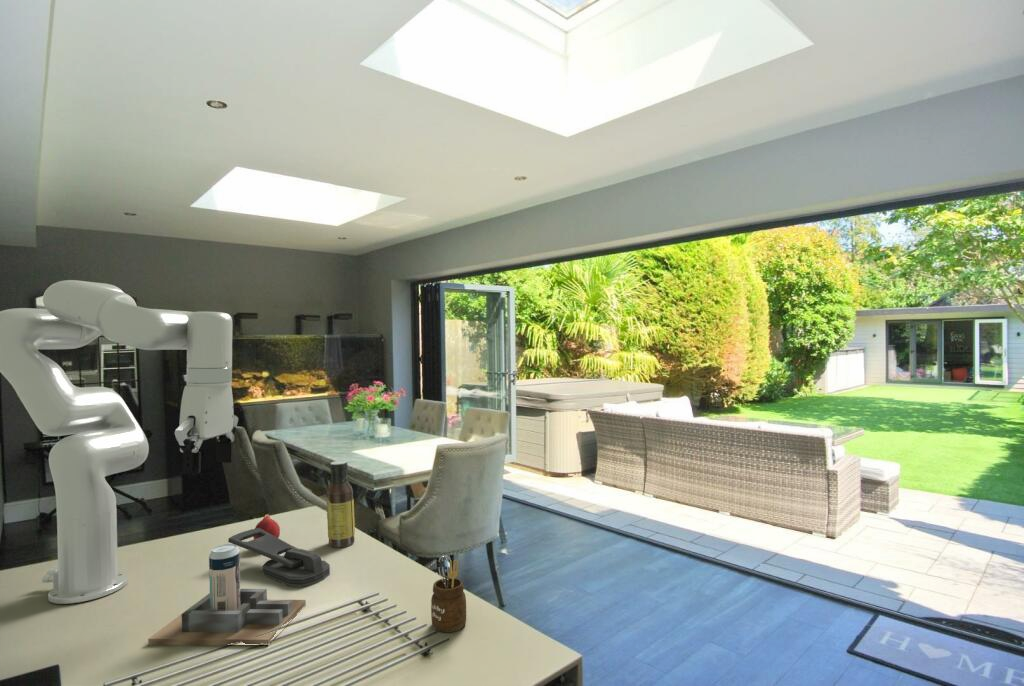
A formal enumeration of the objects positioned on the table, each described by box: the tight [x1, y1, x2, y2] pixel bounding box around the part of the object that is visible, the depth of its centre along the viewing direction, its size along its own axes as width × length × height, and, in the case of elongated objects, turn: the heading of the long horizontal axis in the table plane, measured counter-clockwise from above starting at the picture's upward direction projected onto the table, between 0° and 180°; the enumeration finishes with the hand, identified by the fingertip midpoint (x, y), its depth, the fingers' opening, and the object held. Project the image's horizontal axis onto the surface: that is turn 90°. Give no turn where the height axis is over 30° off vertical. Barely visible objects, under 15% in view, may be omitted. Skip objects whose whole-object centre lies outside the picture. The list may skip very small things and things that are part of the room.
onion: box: [253, 514, 281, 540], centre depth 134 cm, size 6×6×8 cm
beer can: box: [208, 543, 241, 611], centre depth 97 cm, size 5×5×12 cm
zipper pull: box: [228, 528, 331, 588], centre depth 120 cm, size 9×7×25 cm
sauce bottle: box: [326, 460, 356, 548], centre depth 136 cm, size 6×6×20 cm
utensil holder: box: [430, 555, 467, 633], centre depth 95 cm, size 6×6×12 cm
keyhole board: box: [147, 588, 307, 647], centre depth 97 cm, size 20×14×4 cm
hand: (208, 467), depth 106 cm, fingers open, 9 cm apart
